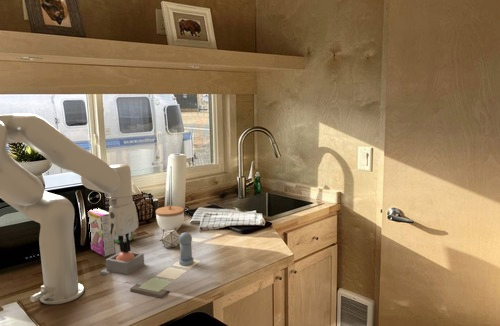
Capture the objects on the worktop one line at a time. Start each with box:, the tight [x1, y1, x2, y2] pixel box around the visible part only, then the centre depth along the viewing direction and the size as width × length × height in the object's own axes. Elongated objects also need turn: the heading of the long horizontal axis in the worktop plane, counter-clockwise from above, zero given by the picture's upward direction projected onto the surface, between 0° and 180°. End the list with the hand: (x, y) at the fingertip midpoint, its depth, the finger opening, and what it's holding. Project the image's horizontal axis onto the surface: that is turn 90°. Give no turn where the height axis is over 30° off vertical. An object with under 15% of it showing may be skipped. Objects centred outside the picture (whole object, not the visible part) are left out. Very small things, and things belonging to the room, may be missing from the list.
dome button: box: [116, 251, 134, 262], centre depth 145 cm, size 6×6×6 cm
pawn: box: [178, 231, 194, 266], centre depth 147 cm, size 5×5×11 cm
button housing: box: [99, 250, 145, 276], centre depth 145 cm, size 12×12×5 cm
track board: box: [129, 258, 201, 299], centre depth 140 cm, size 28×12×1 cm, turn 156°
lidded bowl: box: [155, 205, 185, 232], centre depth 188 cm, size 13×13×11 cm
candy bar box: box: [87, 207, 116, 257], centre depth 161 cm, size 11×5×16 cm, turn 47°
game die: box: [159, 228, 180, 249], centre depth 164 cm, size 9×8×10 cm
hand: (125, 251), depth 145 cm, fingers closed
